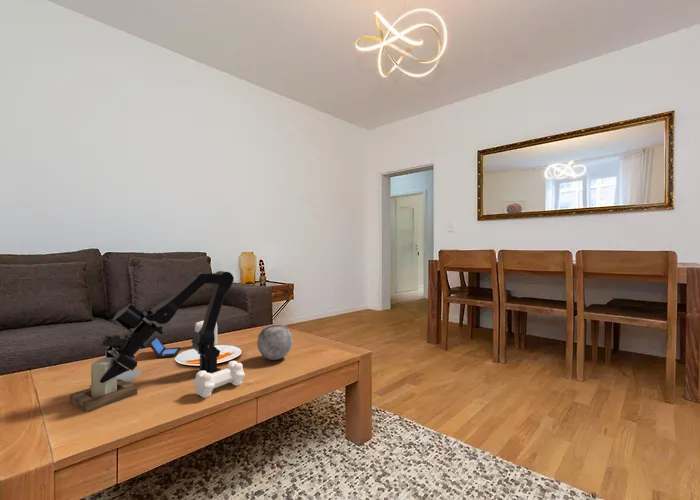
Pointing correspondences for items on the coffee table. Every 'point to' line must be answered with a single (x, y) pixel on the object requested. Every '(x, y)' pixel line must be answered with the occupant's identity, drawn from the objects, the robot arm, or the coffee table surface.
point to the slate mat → (129, 375)
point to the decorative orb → (274, 341)
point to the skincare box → (97, 373)
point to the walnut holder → (89, 404)
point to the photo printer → (199, 326)
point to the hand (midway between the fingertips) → (98, 378)
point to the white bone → (218, 378)
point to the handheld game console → (163, 349)
